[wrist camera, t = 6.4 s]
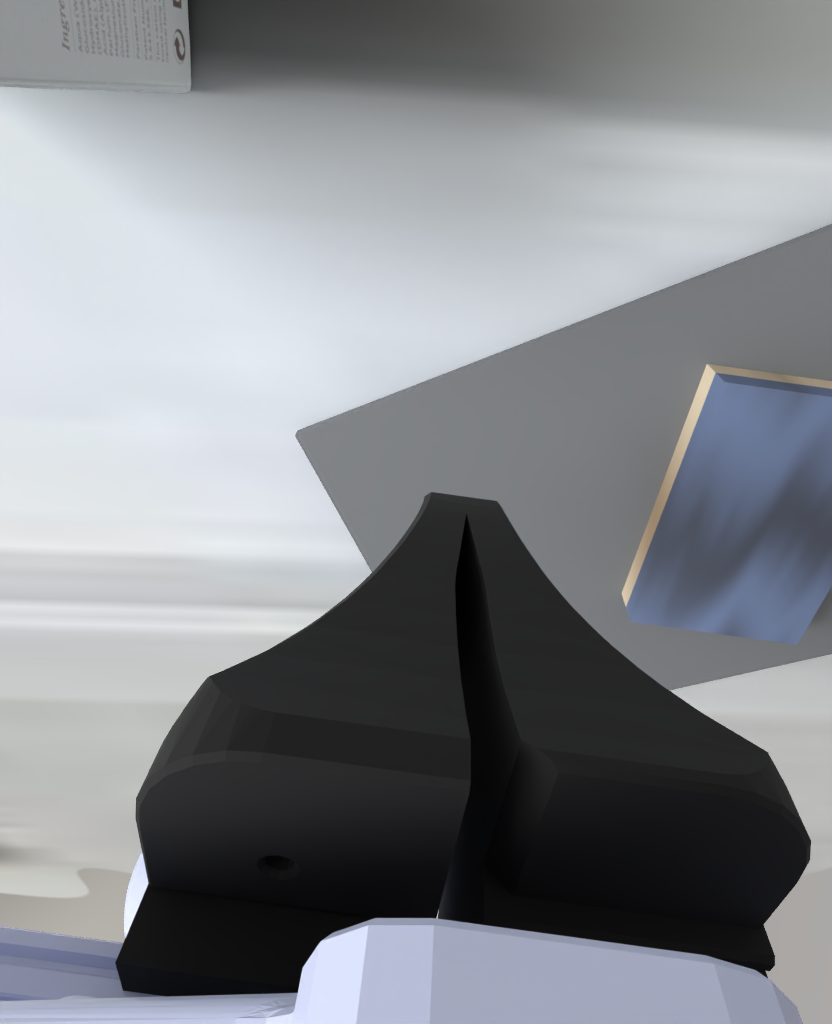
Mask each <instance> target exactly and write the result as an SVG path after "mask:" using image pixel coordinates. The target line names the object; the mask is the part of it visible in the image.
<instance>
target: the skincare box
mask: <svg viewBox="0 0 832 1024" xmlns="http://www.w3.org/2000/svg"><path fill="white" fill-rule="evenodd" d="M0 86H3V87H26V88H46V89H78V90H113V91H142V92H171V93H189V91H190V90H191V58H190V36H189V22H188V0H0Z"/></svg>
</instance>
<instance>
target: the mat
mask: <svg viewBox="0 0 832 1024" xmlns="http://www.w3.org/2000/svg"><path fill="white" fill-rule="evenodd" d="M707 364H712V365H719V366H726V367H733V368H740V369H748V370H755V371H762V372H769V373H776V374H784V375H791V376H798V377H805V378H812V379H820V380H827V381H832V224H831V225H828V226H826V227H823V228H820V229H818V230H815V231H813V232H810V233H808V234H805V235H802V236H800V237H797V238H795V239H792V240H789V241H787V242H784V243H782V244H779V245H776V246H774V247H771V248H769V249H766V250H764V251H761V252H758V253H756V254H753V255H751V256H748V257H745V258H743V259H740V260H738V261H735V262H733V263H730V264H727V265H725V266H722V267H720V268H717V269H714V270H712V271H709V272H707V273H704V274H702V275H699V276H696V277H694V278H691V279H689V280H686V281H683V282H681V283H678V284H676V285H673V286H670V287H668V288H665V289H663V290H660V291H658V292H655V293H652V294H650V295H647V296H645V297H642V298H639V299H637V300H634V301H632V302H629V303H627V304H624V305H621V306H619V307H616V308H614V309H611V310H608V311H606V312H603V313H601V314H598V315H596V316H593V317H590V318H588V319H585V320H583V321H580V322H577V323H575V324H572V325H570V326H567V327H564V328H562V329H559V330H557V331H554V332H552V333H549V334H546V335H544V336H541V337H539V338H536V339H533V340H531V341H528V342H526V343H523V344H521V345H518V346H515V347H513V348H510V349H508V350H505V351H502V352H500V353H497V354H495V355H492V356H490V357H487V358H484V359H482V360H479V361H477V362H474V363H471V364H469V365H466V366H464V367H461V368H458V369H456V370H453V371H451V372H448V373H446V374H443V375H440V376H438V377H435V378H433V379H430V380H427V381H425V382H422V383H420V384H417V385H415V386H412V387H409V388H407V389H404V390H402V391H399V392H396V393H394V394H391V395H389V396H386V397H384V398H381V399H378V400H376V401H373V402H371V403H368V404H365V405H363V406H360V407H358V408H355V409H352V410H350V411H347V412H345V413H342V414H340V415H337V416H334V417H332V418H329V419H327V420H324V421H321V422H319V423H316V424H314V425H311V426H309V427H306V428H303V429H301V430H298V431H297V433H296V435H295V436H296V438H297V440H298V442H299V443H300V445H301V447H302V449H303V450H304V452H305V454H306V456H307V458H308V459H309V461H310V463H311V465H312V466H313V468H314V470H315V472H316V474H317V475H318V477H319V479H320V481H321V482H322V484H323V486H324V488H325V490H326V491H327V493H328V495H329V497H330V498H331V500H332V502H333V504H334V506H335V507H336V509H337V511H338V513H339V514H340V516H341V518H342V520H343V522H344V523H345V525H346V527H347V529H348V530H349V532H350V534H351V536H352V537H353V539H354V541H355V543H356V545H357V546H358V548H359V550H360V552H361V553H362V555H363V557H364V559H365V561H366V562H367V564H368V566H369V568H370V569H371V571H372V572H373V571H374V570H375V569H376V568H377V567H378V566H379V565H380V564H381V562H382V561H383V560H384V559H385V558H386V557H387V556H388V554H389V553H390V552H391V551H392V550H393V549H394V547H395V546H396V545H397V544H398V542H399V541H400V539H401V538H402V537H403V535H404V534H405V532H406V531H407V530H408V528H409V527H410V525H411V524H412V522H413V521H414V519H415V517H416V516H417V514H418V512H419V510H420V508H421V506H422V504H423V501H424V496H426V495H428V494H429V493H431V492H436V493H443V494H450V495H457V496H465V497H472V498H479V499H486V500H493V501H498V503H499V504H500V506H501V507H502V509H503V510H504V512H505V514H506V516H507V517H508V519H509V521H510V522H511V524H512V526H513V527H514V529H515V531H516V532H517V534H518V535H519V537H520V539H521V540H522V542H523V543H524V545H525V546H526V548H527V549H528V551H529V552H530V554H531V555H532V557H533V558H534V559H535V561H536V562H537V564H538V565H539V566H540V568H541V569H542V571H543V572H544V573H545V575H546V576H547V577H548V579H549V580H550V581H551V582H552V584H553V585H554V586H555V587H556V589H557V590H558V591H559V592H560V593H561V595H562V596H563V597H564V598H565V599H566V600H567V601H568V603H569V604H570V605H571V606H572V607H573V608H574V609H575V610H576V611H577V612H578V613H579V614H580V615H581V616H582V617H583V618H584V619H585V620H586V621H587V622H588V623H589V624H590V625H591V626H592V627H593V628H594V629H595V630H596V631H597V632H598V633H599V634H600V635H601V636H602V637H603V638H604V639H605V640H606V641H608V642H609V643H610V644H611V645H612V646H613V647H614V648H616V649H617V650H618V651H619V652H620V653H622V654H623V655H624V656H625V657H626V658H628V659H629V660H630V661H631V662H632V663H634V664H635V665H636V666H637V667H638V668H640V669H641V670H642V671H643V672H645V673H646V674H647V675H649V676H650V677H651V678H653V679H654V680H655V681H657V682H658V683H659V684H661V685H662V686H663V687H665V688H666V689H668V690H673V689H677V688H682V687H686V686H691V685H695V684H700V683H704V682H709V681H713V680H717V679H722V678H726V677H731V676H735V675H740V674H744V673H749V672H753V671H758V670H762V669H766V668H771V667H775V666H780V665H784V664H789V663H793V662H798V661H802V660H807V659H811V658H816V657H820V656H824V655H829V654H832V587H831V588H830V590H829V592H828V594H827V595H826V597H825V599H824V600H823V602H822V604H821V605H820V607H819V609H818V610H817V612H816V614H815V615H814V617H813V619H812V621H811V622H810V624H809V626H808V627H807V629H806V631H805V632H804V634H803V636H802V637H801V639H800V641H799V643H798V644H797V645H795V644H787V643H780V642H773V641H766V640H758V639H751V638H744V637H737V636H729V635H722V634H715V633H708V632H700V631H693V630H686V629H679V628H672V627H664V626H657V625H650V624H643V623H635V622H631V621H630V618H629V615H628V612H627V609H626V606H625V603H624V600H623V597H622V591H623V588H624V585H625V583H626V580H627V577H628V575H629V572H630V569H631V567H632V564H633V561H634V559H635V556H636V553H637V551H638V548H639V545H640V542H641V540H642V537H643V534H644V532H645V529H646V526H647V524H648V521H649V518H650V516H651V513H652V510H653V507H654V505H655V502H656V499H657V497H658V494H659V491H660V489H661V486H662V483H663V481H664V478H665V475H666V472H667V470H668V467H669V464H670V462H671V459H672V456H673V454H674V451H675V448H676V446H677V443H678V440H679V438H680V435H681V432H682V429H683V427H684V424H685V421H686V419H687V416H688V413H689V411H690V408H691V405H692V403H693V400H694V397H695V394H696V392H697V389H698V386H699V384H700V381H701V378H702V376H703V373H704V370H705V368H706V365H707Z"/></svg>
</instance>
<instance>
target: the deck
mask: <svg viewBox="0 0 832 1024" xmlns="http://www.w3.org/2000/svg"><path fill="white" fill-rule="evenodd" d="M831 587H832V381H827V380H820V379H812V378H805V377H798V376H791V375H784V374H776V373H769V372H762V371H755V370H748V369H740V368H733V367H726V366H719V365H712V364H707V365H706V368H705V370H704V373H703V376H702V378H701V381H700V384H699V386H698V389H697V392H696V394H695V397H694V400H693V403H692V405H691V408H690V411H689V413H688V416H687V419H686V421H685V424H684V427H683V429H682V432H681V435H680V438H679V440H678V443H677V446H676V448H675V451H674V454H673V456H672V459H671V462H670V464H669V467H668V470H667V472H666V475H665V478H664V481H663V483H662V486H661V489H660V491H659V494H658V497H657V499H656V502H655V505H654V507H653V510H652V513H651V516H650V518H649V521H648V524H647V526H646V529H645V532H644V534H643V537H642V540H641V542H640V545H639V548H638V551H637V553H636V556H635V559H634V561H633V564H632V567H631V569H630V572H629V575H628V577H627V580H626V583H625V585H624V588H623V591H622V597H623V600H624V603H625V606H626V609H627V612H628V615H629V618H630V621H631V622H635V623H643V624H650V625H657V626H664V627H672V628H679V629H686V630H693V631H700V632H708V633H715V634H722V635H729V636H737V637H744V638H751V639H758V640H766V641H773V642H780V643H787V644H795V645H797V644H798V643H799V641H800V639H801V637H802V636H803V634H804V632H805V631H806V629H807V627H808V626H809V624H810V622H811V621H812V619H813V617H814V615H815V614H816V612H817V610H818V609H819V607H820V605H821V604H822V602H823V600H824V599H825V597H826V595H827V594H828V592H829V590H830V588H831Z"/></svg>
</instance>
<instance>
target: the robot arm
mask: <svg viewBox="0 0 832 1024" xmlns="http://www.w3.org/2000/svg"><path fill="white" fill-rule="evenodd" d="M136 822H137V827H138V832H139V838H140V843H141V848H142V853H141V855H140V857H139V859H138V862H137V864H136V866H135V868H134V871H133V874H132V876H131V879H130V883H129V887H128V891H127V896H126V902H125V913H124V931H125V941H124V943H121V942H113V941H106V940H99V939H91V938H84V937H77V936H69V935H62V934H55V933H47V932H40V931H32V930H25V929H18V928H11V927H3V926H0V1024H803V1023H802V1020H801V1018H800V1015H799V1012H798V1009H797V1007H796V1006H795V1005H794V1004H793V1003H792V1002H791V1000H790V999H789V998H788V997H787V996H786V995H784V993H783V992H782V991H781V990H780V989H779V988H778V987H777V986H776V985H775V984H774V983H773V982H772V981H771V980H770V979H768V977H767V974H766V971H770V970H771V969H772V968H773V967H774V966H775V955H774V953H773V950H772V947H771V944H770V942H769V939H768V936H767V933H766V931H765V928H764V925H763V924H764V923H765V922H766V921H767V919H768V918H769V917H770V916H771V914H772V913H773V912H774V911H775V909H776V908H777V907H778V906H779V904H780V903H781V902H782V901H783V899H784V898H785V897H786V896H787V895H788V893H789V892H790V891H791V890H792V888H793V887H794V886H795V885H796V884H797V882H798V880H799V879H800V877H801V875H802V873H803V871H804V870H805V868H806V866H807V864H808V862H809V861H810V848H811V840H810V838H809V836H808V833H807V831H806V829H805V827H804V825H803V823H802V820H801V818H800V816H799V814H798V811H797V809H796V807H795V805H794V802H793V800H792V798H791V796H790V794H789V791H788V789H787V787H786V785H785V783H784V781H783V779H782V778H781V776H780V774H779V772H778V770H777V768H776V767H775V765H774V763H773V761H772V759H771V758H770V756H769V754H768V752H766V751H765V750H763V749H761V748H760V747H758V746H756V745H755V744H753V743H751V742H750V741H748V740H746V739H745V738H743V737H741V736H740V735H738V734H736V733H734V732H733V731H731V730H729V729H728V728H726V727H724V726H723V725H721V724H719V723H718V722H716V721H714V720H713V719H711V718H709V717H708V716H706V715H704V714H703V713H701V712H700V711H698V710H697V709H695V708H694V707H692V706H691V705H689V704H688V703H686V702H685V701H683V700H682V699H681V698H679V697H678V696H676V695H675V694H673V693H672V692H671V691H669V690H668V689H666V688H665V687H663V686H662V685H661V684H659V683H658V682H657V681H655V680H654V679H653V678H651V677H650V676H649V675H647V674H646V673H645V672H643V671H642V670H641V669H640V668H638V667H637V666H636V665H635V664H634V663H632V662H631V661H630V660H629V659H628V658H626V657H625V656H624V655H623V654H622V653H620V652H619V651H618V650H617V649H616V648H614V647H613V646H612V645H611V644H610V643H609V642H608V641H606V640H605V639H604V638H603V637H602V636H601V635H600V634H599V633H598V632H597V631H596V630H595V629H594V628H593V627H592V626H591V625H590V624H589V623H588V622H587V621H586V620H585V619H584V618H583V617H582V616H581V615H580V614H579V613H578V612H577V611H576V610H575V609H574V608H573V607H572V606H571V605H570V604H569V603H568V601H567V600H566V599H565V598H564V597H563V596H562V595H561V593H560V592H559V591H558V590H557V589H556V587H555V586H554V585H553V584H552V582H551V581H550V580H549V579H548V577H547V576H546V575H545V573H544V572H543V571H542V569H541V568H540V566H539V565H538V564H537V562H536V561H535V559H534V558H533V557H532V555H531V554H530V552H529V551H528V549H527V548H526V546H525V545H524V543H523V542H522V540H521V539H520V537H519V535H518V534H517V532H516V531H515V529H514V527H513V526H512V524H511V522H510V521H509V519H508V517H507V516H506V514H505V512H504V510H503V509H502V507H501V506H500V504H499V503H498V501H493V500H486V499H479V498H472V497H465V496H457V495H450V494H443V493H436V492H431V493H429V494H428V495H426V496H424V501H423V504H422V506H421V508H420V510H419V512H418V514H417V516H416V517H415V519H414V521H413V522H412V524H411V525H410V527H409V528H408V530H407V531H406V532H405V534H404V535H403V537H402V538H401V539H400V541H399V542H398V544H397V545H396V546H395V547H394V549H393V550H392V551H391V552H390V553H389V554H388V556H387V557H386V558H385V559H384V560H383V561H382V562H381V564H380V565H379V566H378V567H377V568H376V569H375V570H374V571H373V572H372V573H371V574H370V575H369V576H368V577H367V578H366V579H365V580H364V581H363V582H362V583H361V584H360V585H359V586H358V587H357V588H356V589H355V590H354V591H353V592H351V593H350V594H349V595H348V596H347V597H346V598H345V599H343V600H342V601H341V602H340V603H338V604H337V605H336V606H334V607H333V608H332V609H331V610H329V611H328V612H327V613H325V614H324V615H323V616H321V617H320V618H319V619H317V620H316V621H314V622H313V623H312V624H310V625H309V626H307V627H306V628H304V629H302V630H301V631H299V632H297V633H296V634H294V635H292V636H291V637H289V638H287V639H286V640H284V641H283V642H281V643H279V644H278V645H276V646H274V647H273V648H271V649H269V650H267V651H265V652H263V653H261V654H259V655H257V656H255V657H252V658H250V659H248V660H246V661H244V662H241V663H239V664H237V665H235V666H233V667H230V668H228V669H226V670H224V671H221V672H219V673H217V674H214V675H212V676H209V677H208V678H207V679H206V680H205V681H204V683H203V684H202V685H201V686H200V688H199V689H198V691H197V692H196V693H195V695H194V696H193V697H192V699H191V700H190V701H189V703H188V704H187V706H186V707H185V709H184V710H183V712H182V713H181V715H180V716H179V718H178V719H177V721H176V722H175V723H174V725H173V726H172V728H171V730H170V731H169V733H168V735H167V736H166V738H165V740H164V741H163V743H162V745H161V747H160V749H159V751H158V754H157V756H156V758H155V760H154V762H153V764H152V766H151V768H150V770H149V772H148V775H147V777H146V779H145V781H144V783H143V785H142V787H141V789H140V791H139V793H138V796H137V798H136ZM438 909H439V913H438ZM437 913H438V919H436V916H437ZM765 970H766V971H765Z"/></svg>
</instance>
